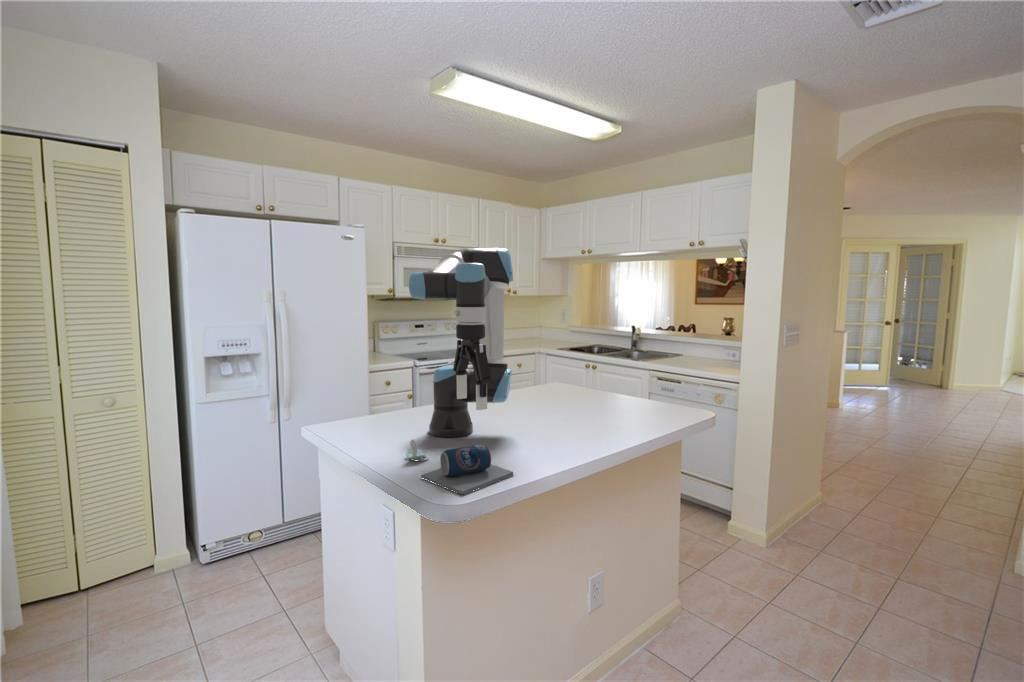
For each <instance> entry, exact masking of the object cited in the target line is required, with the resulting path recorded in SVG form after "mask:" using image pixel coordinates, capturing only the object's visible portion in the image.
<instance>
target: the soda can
mask: <svg viewBox="0 0 1024 682" xmlns="http://www.w3.org/2000/svg"><path fill="white" fill-rule="evenodd" d="M439 458H440V461H439V462H440V463H439V464H440V468H441V469H442V472H443V474H444V475H446V476H448V477H454V476H459V475H465V474H470V473H476V472H481V471H484V470H485V469H487V468H489V467H490V465H491V464H492V455H491V451H490V449H489V448H488V446H486V445H485V446H484V445H481V444H477V445H476V444H475V445H469V446H461V447H455V448H449V449H446V450H444V451H443V452H442V453H441V455H440V457H439Z"/></svg>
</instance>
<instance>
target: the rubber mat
mask: <svg viewBox="0 0 1024 682" xmlns="http://www.w3.org/2000/svg"><path fill="white" fill-rule="evenodd" d="M512 475H513V476H514V471H512V470H509V469H506V468H503V467H500V466H498V465H494V464H492V463H491V465H490V467H489V468H487V469H485V470H484V471H481V472H476V473H470V474H465V475H459V476H454V477H448V476H446V475H444V474H443V472H442V469H441V467H440V468H437V469H434V470H431V471H429V472H426V473H422V474H421V475H420V478H421V477H422V478H424V479H427V480H429V481H432V482H434V483H436V484H439V485H441V486H443V487H446V488H448V489H450V490H453V491H455V492H457V493H459V494H462V495H463V494H465V495H467V494H466V493H468V494H470V493H472V492H471V491H473V490H475V491H477V490H476V489H478V488H480V489H482V488H481V487H483V488H485V487H487V486H486V485H488V486H490V485H492V484H491V483H493V484H495V483H498V482H500V481H502V479H503V480H505V479H507V477H508V478H510V477H509V476H511V477H513V476H512ZM504 478H505V479H504ZM499 480H500V481H499ZM497 481H498V482H497ZM494 482H495V483H494ZM489 484H490V485H489ZM484 486H485V487H484ZM450 490H449V491H450ZM478 490H479V489H478ZM455 492H454V493H455ZM469 492H470V493H469ZM473 492H474V491H473ZM457 493H456V494H457ZM459 494H458V495H459ZM462 495H461V496H462ZM463 496H464V495H463Z"/></svg>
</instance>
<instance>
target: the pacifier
mask: <svg viewBox="0 0 1024 682" xmlns="http://www.w3.org/2000/svg"><path fill="white" fill-rule="evenodd" d="M409 445H410V447H411V448H408V449H407V450H406V451H405V455H406V457H407V458H409V460H411V459H413V460H418V461H417V462H426V461H428V460H429V458H430V457H429V455H427V454H425V453H424V452H422V451H421V450H419V449H418V446H417V442H416V440H415V439H414V438H412V439H410V442H409ZM424 456H425V457H426V458H425V457H424ZM423 457H424V458H423ZM425 460H426V461H425Z"/></svg>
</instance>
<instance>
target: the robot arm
mask: <svg viewBox="0 0 1024 682" xmlns="http://www.w3.org/2000/svg"><path fill="white" fill-rule="evenodd" d="M512 262H513V261H512V257H511V252H510V250H509V249H507V248H502V247H501V248H499V247H487V248H486V247H484V248H482V247H481V248H480V247H478V248H475V247H474V248H473V247H472V248H471V247H469V248H461V249H458V250H455V251H452V252H449V253H447V254H445V255H444V256H442V257H441V258H440V259H439V262H438V263H437V264H436V265H435V266H433V267H432V268H430V269H429V270H427V271H425V272H424V271H418V272H412V273H410V276H409V278H408V290H409V291H408V292H409V294H410V297H411V298H412V299H414V300H415V299H416V300H422V301H423V300H455V311H454V314H455V318H456V319H455V320H456V321H455V322H457V324H456V325H455V330H456V331H455V336H456V339H457V340H456V341H457V342H456V351H455V356H454V362H453V364H448V365H443V366H440V367H437V368H435V370H434V371H433V381H432V383H433V413H432V415H431V420H430V423H429V424H428V430H429V431H428V433H429V434H430V435H431V434H433V435H432V436H434V435H435V436H434V437H439V438H456V437H457V438H458V437H463V436H464V437H465V436H467V435H470V434H472V433H473V430H474V427H473V426H474V425H473V422H472V419H471V416H470V412H469V408H468V406H469V405H468V403H475V410H476V411H481V410H482V411H483V410H487V409H488V404H491V403H492V404H495V403H496V404H497V403H499V404H500V403H505V402H506V401H508V398H509V394H510V391H511V390H510V389H511V382H512V369H511V368H508V366H509V365H508V363H507V361H506V360H505V359H504V346H505V345H504V341H505V340H504V339H505V338H504V335H505V334H504V333H505V292H506V290H508V288H509V287H510V283H512V282H514V272H513V263H512ZM470 363H471V365H472V368H469V364H470Z"/></svg>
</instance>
